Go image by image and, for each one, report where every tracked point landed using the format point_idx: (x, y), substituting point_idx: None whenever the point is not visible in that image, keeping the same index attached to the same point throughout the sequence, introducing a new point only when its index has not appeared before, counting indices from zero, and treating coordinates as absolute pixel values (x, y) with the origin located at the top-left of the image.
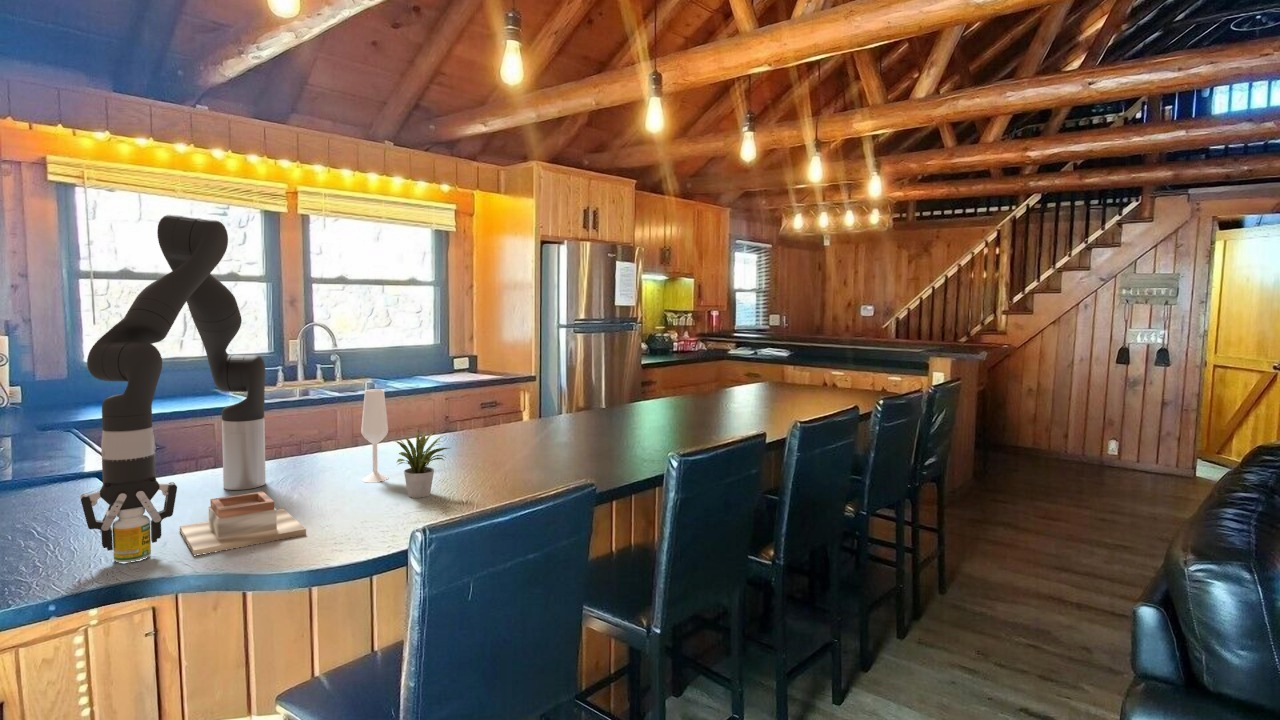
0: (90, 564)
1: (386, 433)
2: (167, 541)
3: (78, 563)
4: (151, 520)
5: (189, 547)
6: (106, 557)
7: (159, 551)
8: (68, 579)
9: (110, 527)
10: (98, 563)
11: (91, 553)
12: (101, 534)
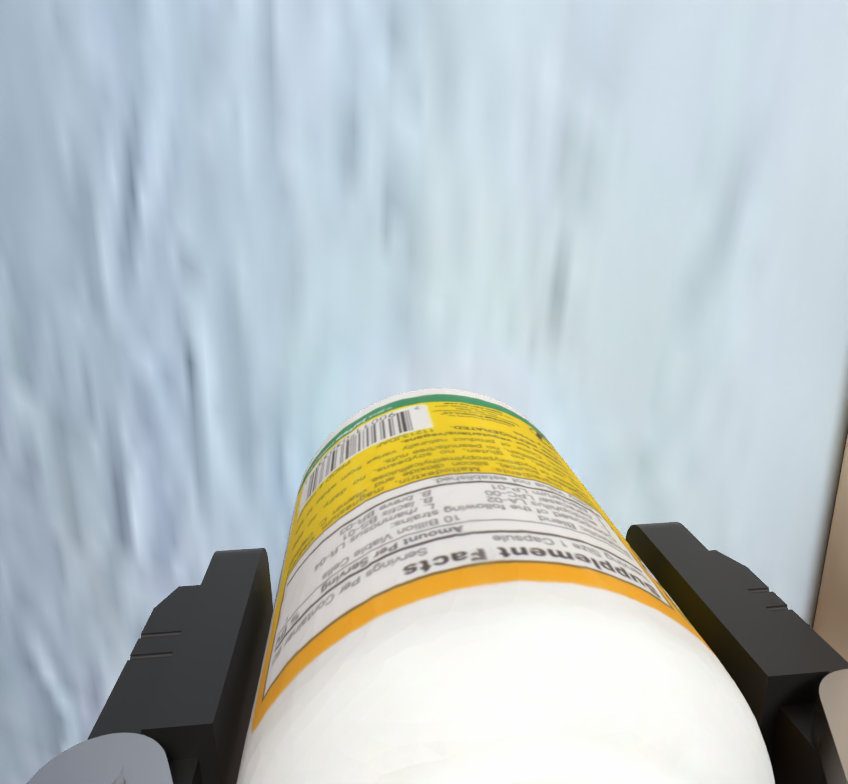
0: (118, 467)
1: None
2: (759, 146)
3: (9, 375)
4: (780, 683)
5: (842, 518)
6: (233, 337)
7: (637, 434)
8: (8, 736)
9: (206, 748)
10: (180, 477)
11: (81, 90)
12: (110, 712)
